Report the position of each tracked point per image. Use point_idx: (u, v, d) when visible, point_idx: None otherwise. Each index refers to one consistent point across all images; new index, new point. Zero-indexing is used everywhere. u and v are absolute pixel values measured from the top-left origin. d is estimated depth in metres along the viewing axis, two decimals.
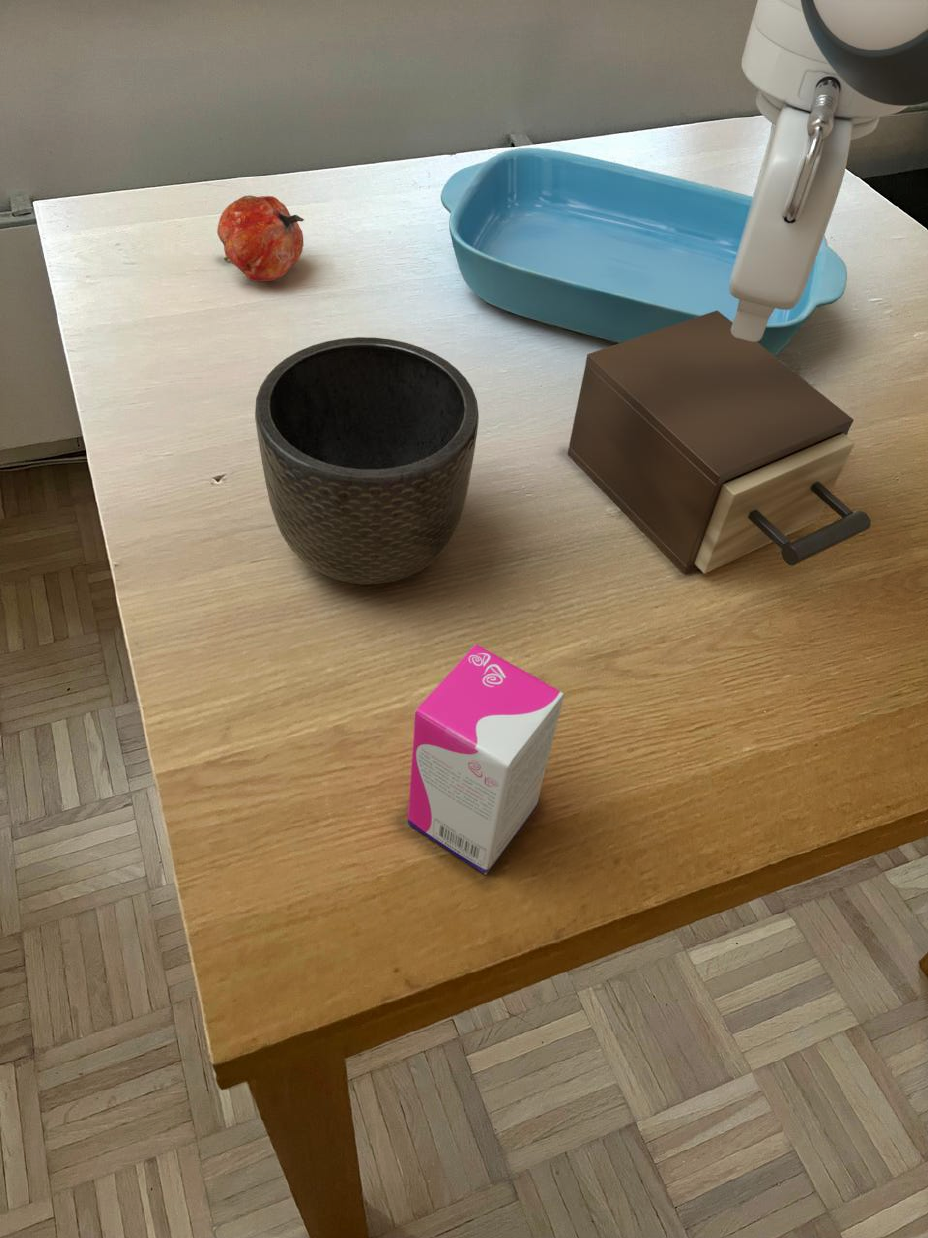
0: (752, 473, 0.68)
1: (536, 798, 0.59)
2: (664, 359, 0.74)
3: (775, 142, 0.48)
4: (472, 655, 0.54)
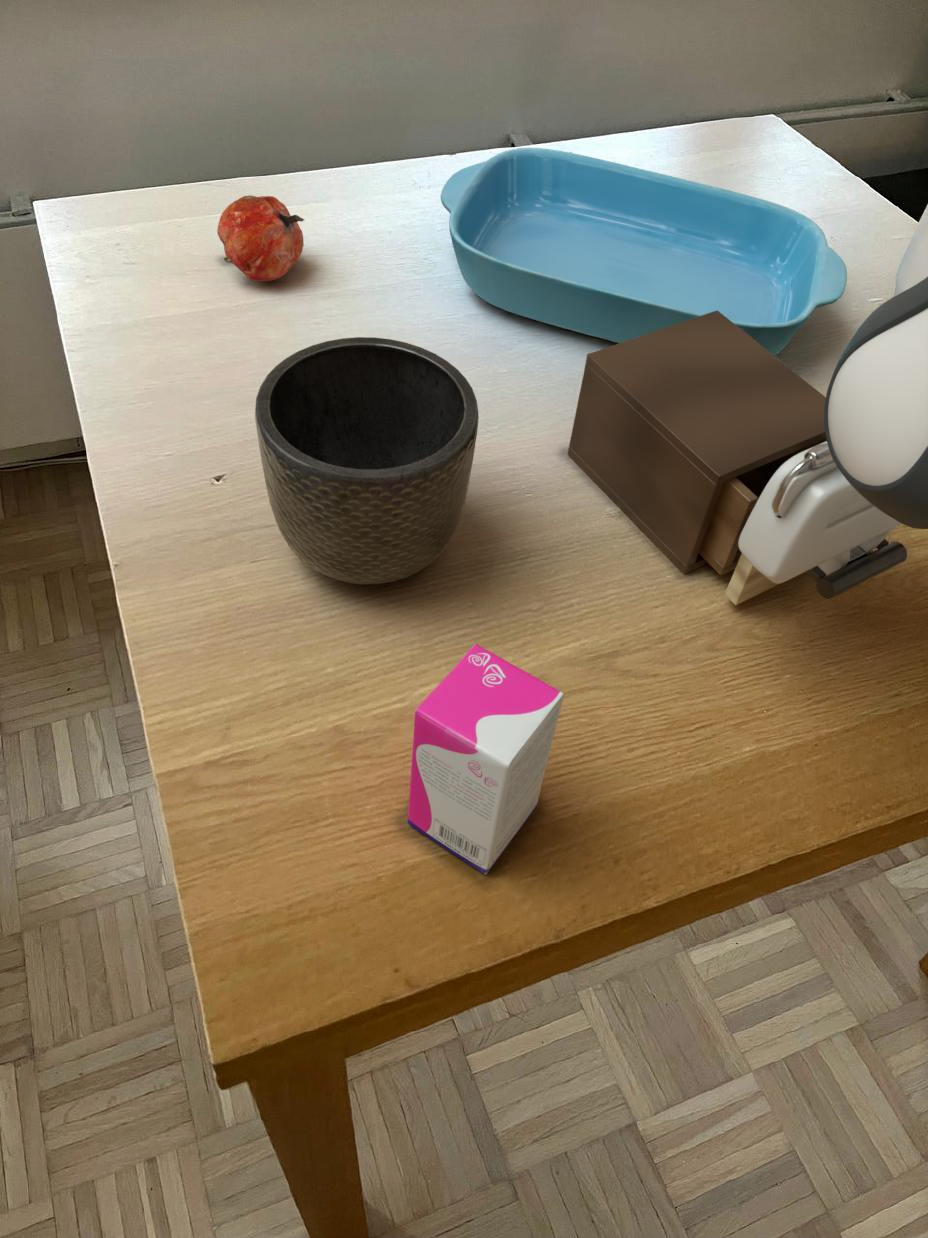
0: None
1: (536, 798, 0.59)
2: (664, 359, 0.74)
3: (797, 454, 0.58)
4: (472, 655, 0.54)
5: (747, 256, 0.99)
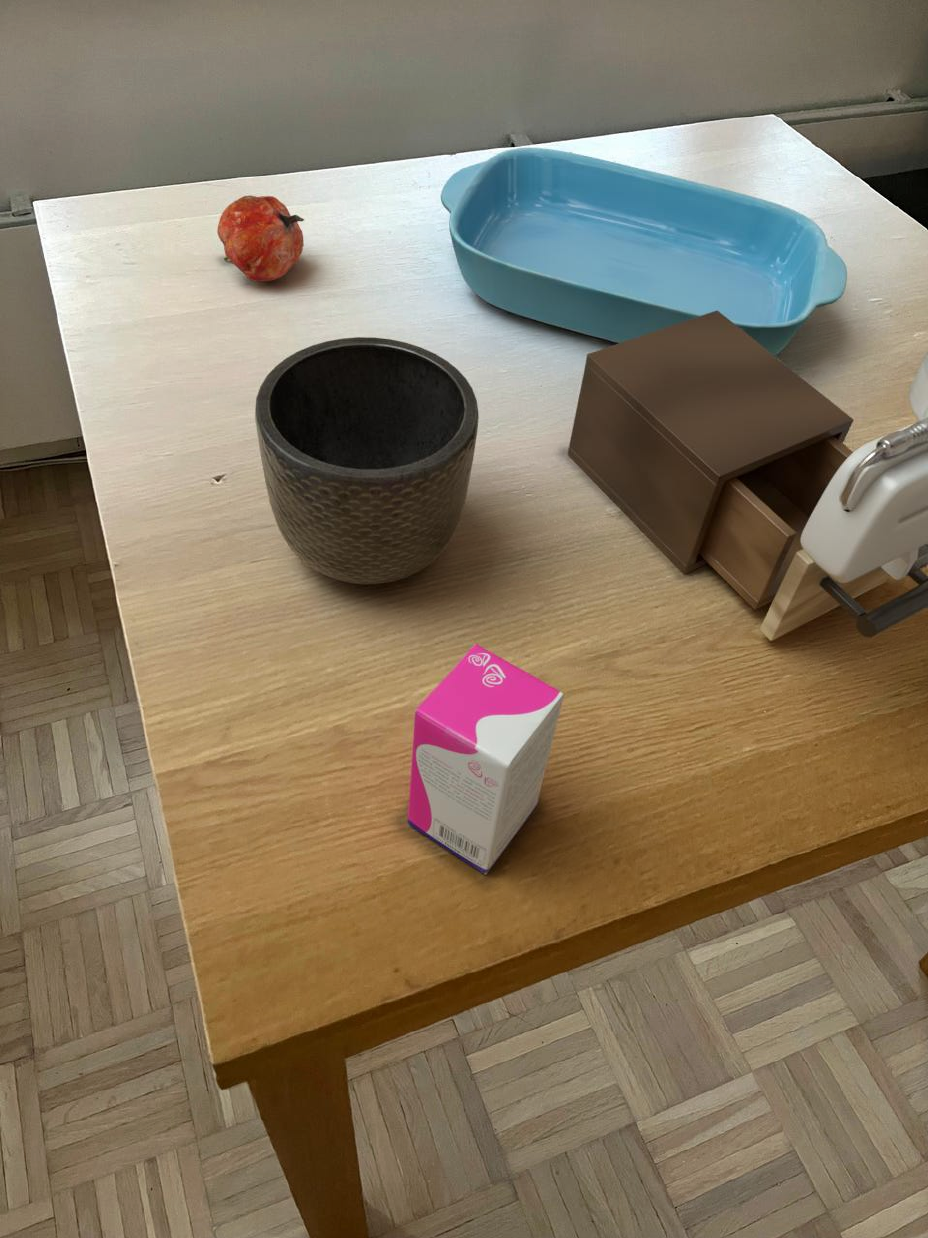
0: None
1: (536, 798, 0.59)
2: (664, 359, 0.74)
3: None
4: (472, 655, 0.54)
5: (747, 256, 0.99)
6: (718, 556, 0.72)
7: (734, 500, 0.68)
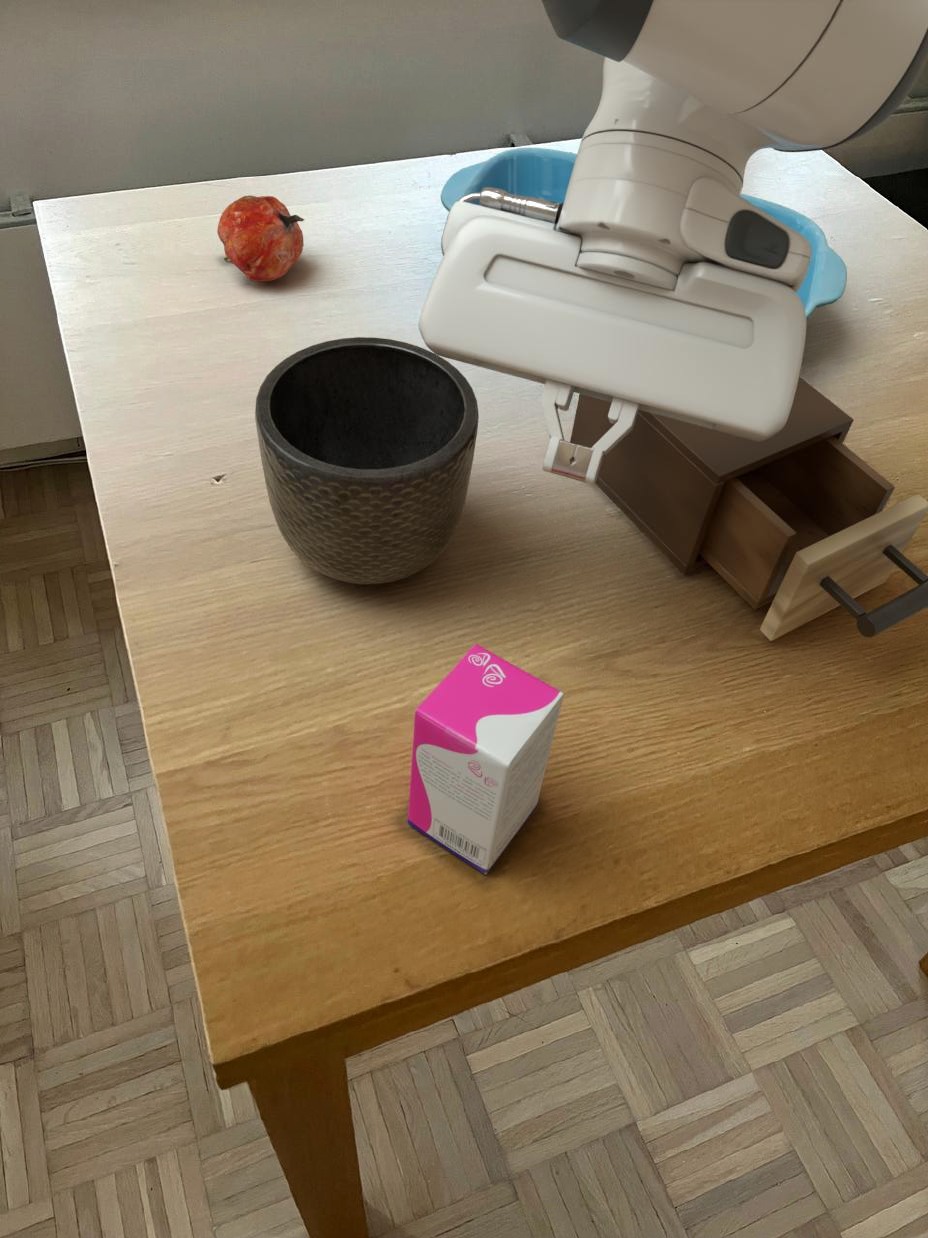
0: (826, 540, 0.65)
1: (536, 798, 0.59)
2: None
3: None
4: (472, 655, 0.54)
5: None
6: (718, 556, 0.72)
7: (734, 500, 0.68)
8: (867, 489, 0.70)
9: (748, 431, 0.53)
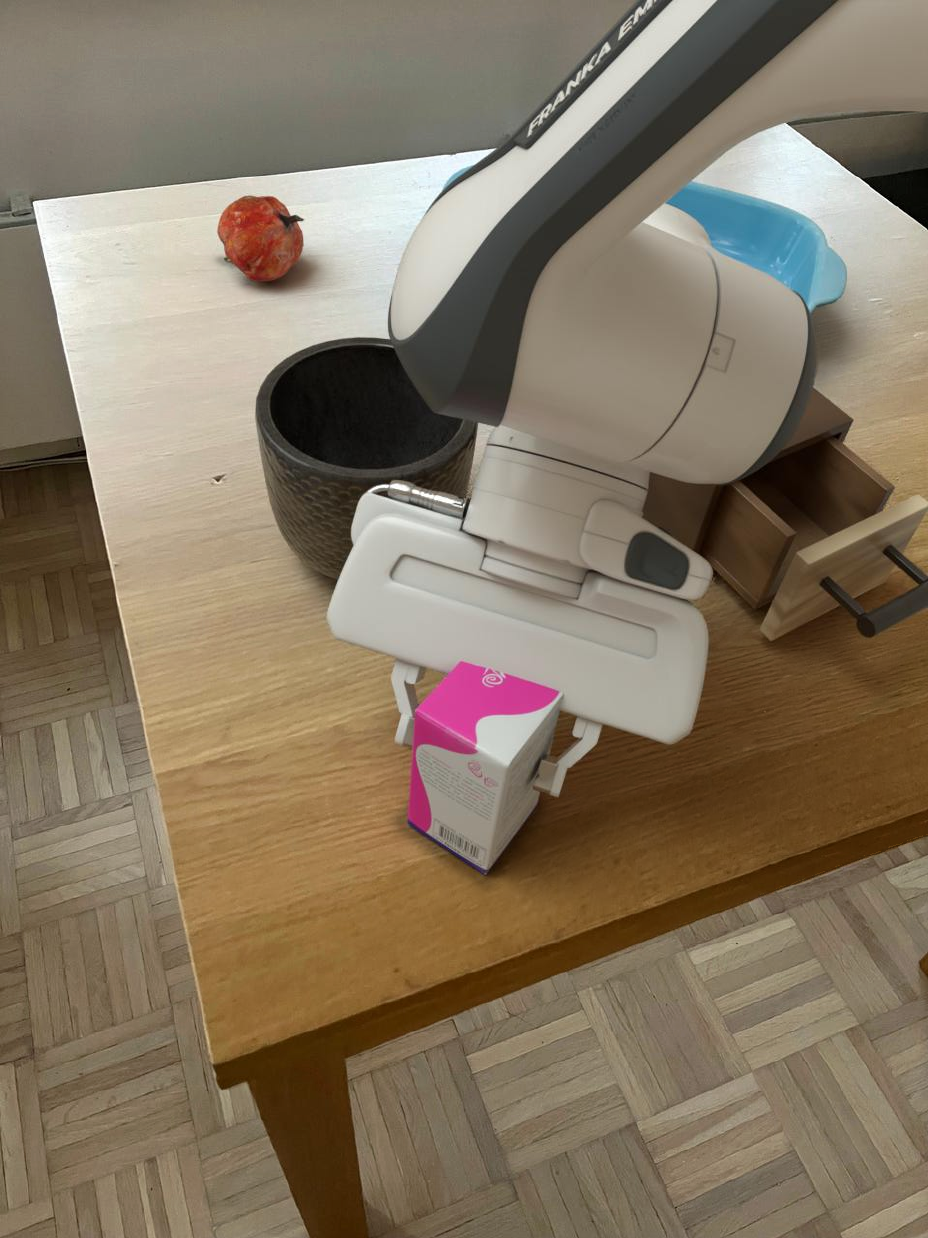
0: (826, 540, 0.65)
1: (536, 798, 0.59)
2: None
3: None
4: None
5: (747, 256, 0.99)
6: (718, 556, 0.72)
7: (734, 500, 0.68)
8: (867, 489, 0.70)
9: (653, 739, 0.52)
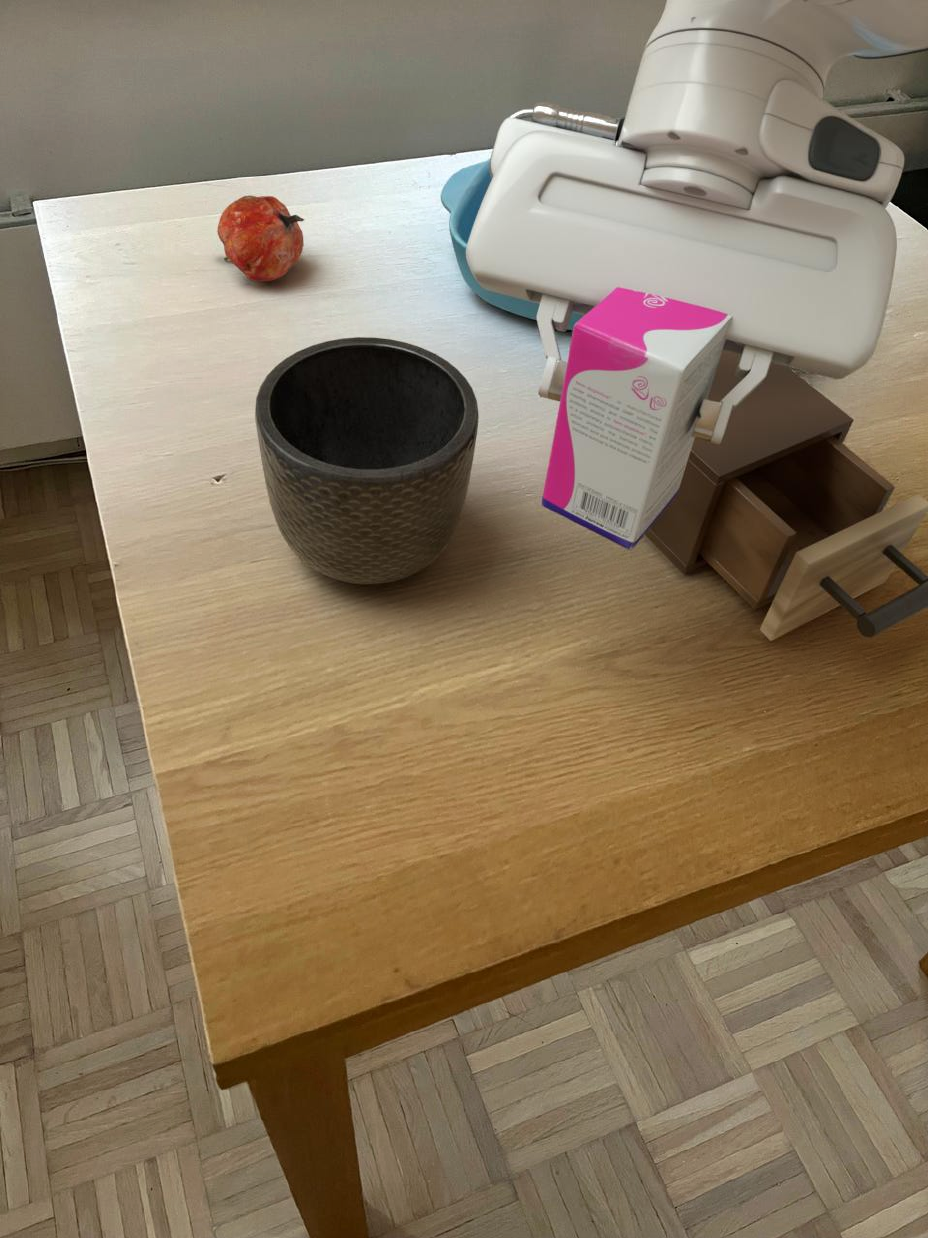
0: (826, 540, 0.65)
1: (680, 477, 0.55)
2: None
3: None
4: None
5: None
6: (718, 556, 0.72)
7: (734, 500, 0.68)
8: (867, 489, 0.70)
9: (831, 364, 0.48)
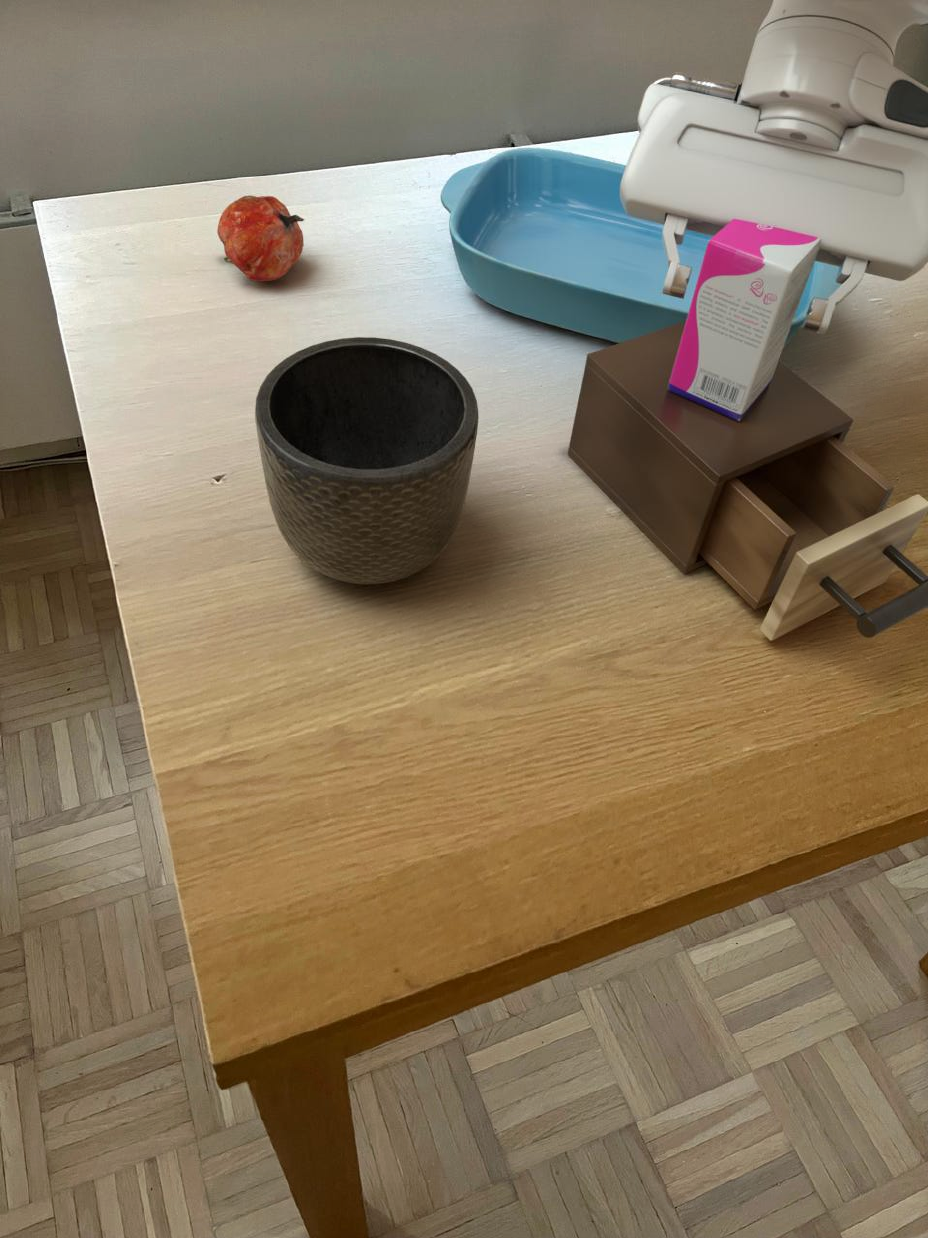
0: (826, 540, 0.65)
1: (774, 368, 0.72)
2: (664, 359, 0.74)
3: None
4: None
5: None
6: (718, 556, 0.72)
7: (734, 500, 0.68)
8: (867, 489, 0.70)
9: (898, 265, 0.64)
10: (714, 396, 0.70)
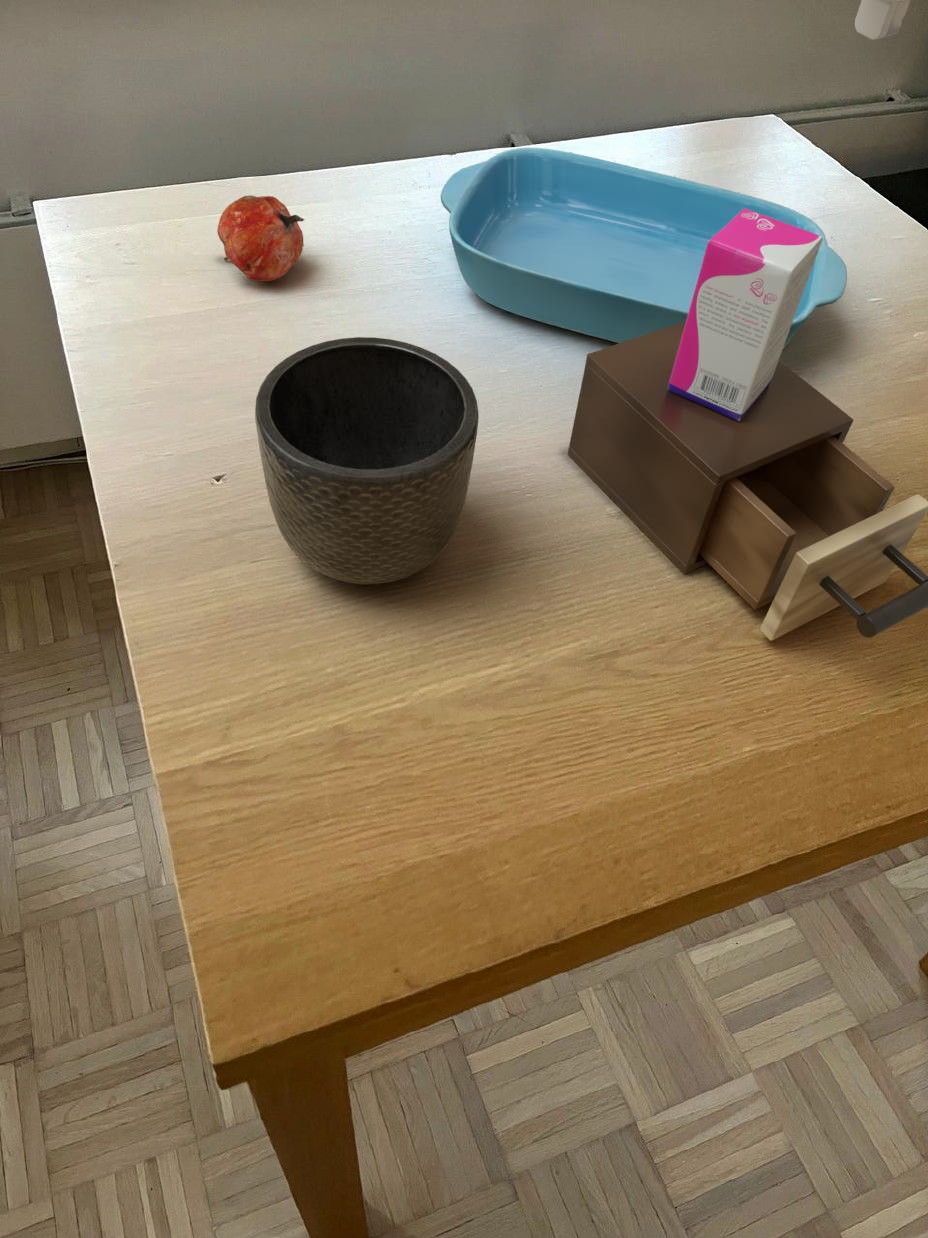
0: (826, 540, 0.65)
1: (774, 368, 0.72)
2: (664, 359, 0.74)
3: None
4: (743, 213, 0.66)
5: None
6: (718, 556, 0.72)
7: (734, 500, 0.68)
8: (867, 489, 0.70)
9: None
10: (714, 396, 0.70)
